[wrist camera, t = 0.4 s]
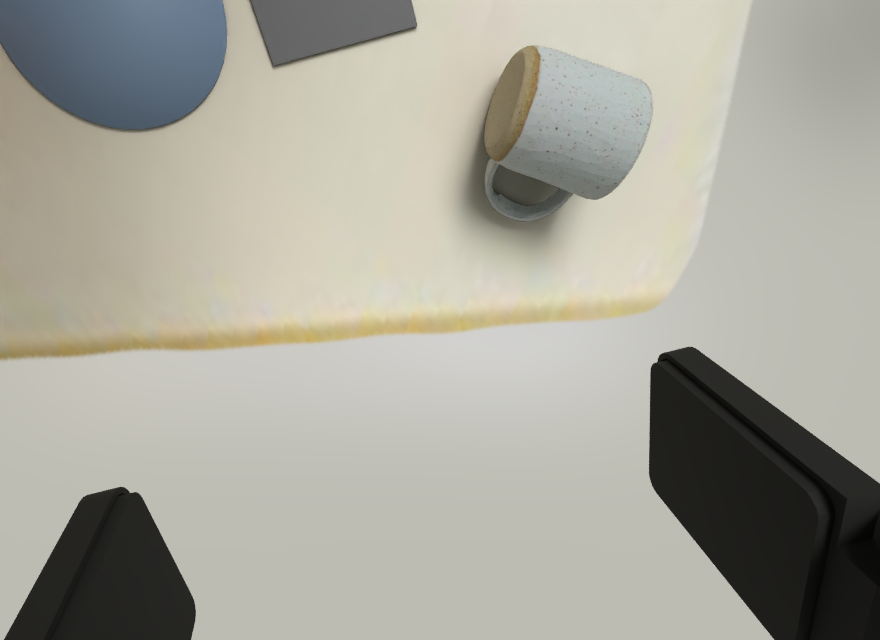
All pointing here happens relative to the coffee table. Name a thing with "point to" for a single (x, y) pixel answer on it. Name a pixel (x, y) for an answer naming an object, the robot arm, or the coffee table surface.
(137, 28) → the disc
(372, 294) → the coffee table surface
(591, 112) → the grey rounded holder
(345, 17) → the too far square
